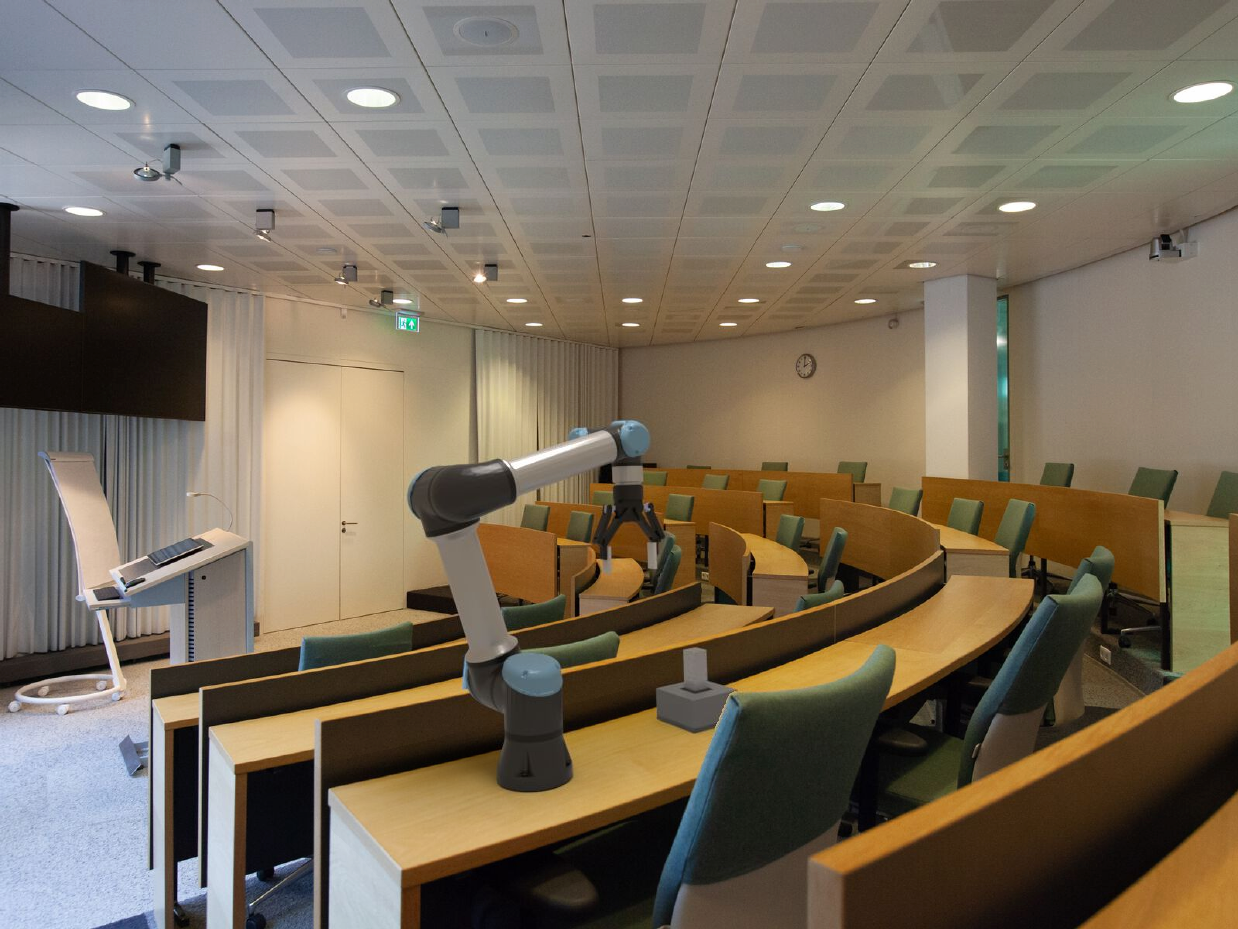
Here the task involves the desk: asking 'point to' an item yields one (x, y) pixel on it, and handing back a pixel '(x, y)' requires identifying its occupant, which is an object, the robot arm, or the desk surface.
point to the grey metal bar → (695, 670)
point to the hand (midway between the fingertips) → (630, 571)
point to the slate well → (691, 706)
